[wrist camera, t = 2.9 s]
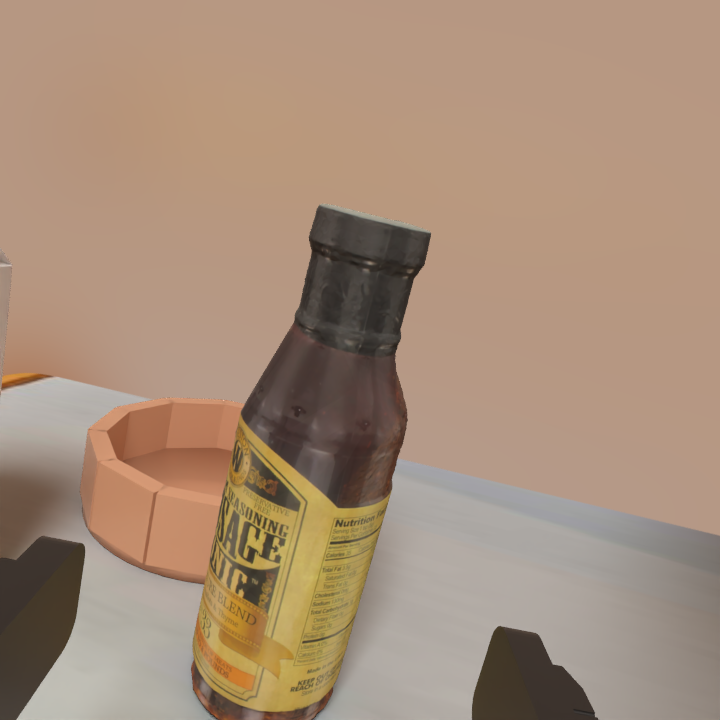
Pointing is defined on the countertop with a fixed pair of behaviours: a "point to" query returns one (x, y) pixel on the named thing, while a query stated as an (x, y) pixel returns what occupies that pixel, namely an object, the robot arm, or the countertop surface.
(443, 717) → the countertop surface
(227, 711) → the sauce bottle
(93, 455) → the terracotta bowl
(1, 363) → the milk carton
